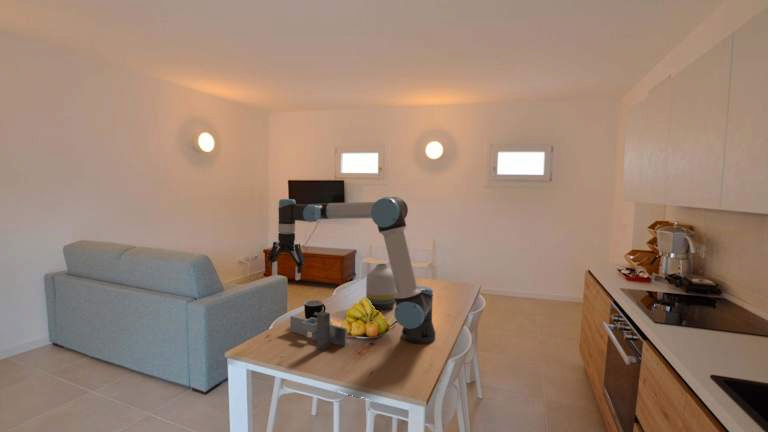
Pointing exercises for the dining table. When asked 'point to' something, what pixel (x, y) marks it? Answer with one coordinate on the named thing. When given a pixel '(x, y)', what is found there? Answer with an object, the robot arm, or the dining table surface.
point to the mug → (313, 308)
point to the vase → (381, 287)
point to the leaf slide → (303, 325)
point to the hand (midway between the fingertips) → (286, 277)
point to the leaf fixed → (335, 335)
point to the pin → (323, 331)
